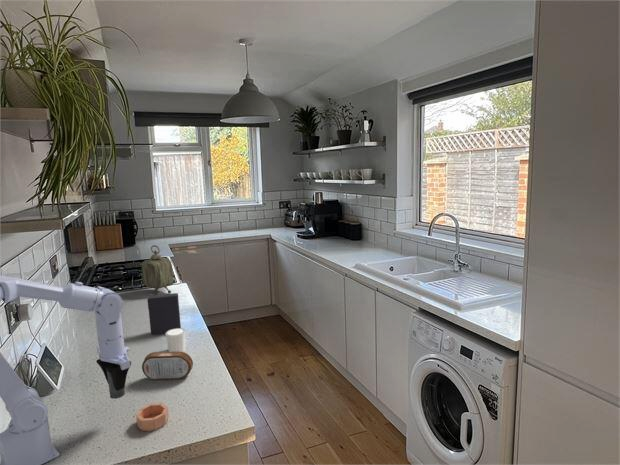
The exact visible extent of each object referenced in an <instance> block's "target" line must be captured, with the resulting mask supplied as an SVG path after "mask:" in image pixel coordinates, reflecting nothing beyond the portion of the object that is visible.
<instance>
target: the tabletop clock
mask: <svg viewBox="0 0 620 465" xmlns="http://www.w3.org/2000/svg"><path fill="white" fill-rule="evenodd" d="M153 247H155V248H157V250H158V251H157V250H153ZM150 249H151V252H152V253H153V254H152V255H151V256H150V259H145V260H144V261H142V262H141V265H140V266H141V277H142V281H143V282H142V283H143V285H145V287H149V288H152V289H154V291H153V295H158V293H157V292H158V290H159V289H162V288H164V289H165V290H166V291H167V294H172V291H171V289H169V288H168V287H169V286H172V285H174V271H173V269H174V268H173V264H172V260H170V259H169V258H166V257H162V256H161V255H160V254H159V253H160V252H161V251H160V250H161V249H160V247H158V245H155V244H154V245H152V246H151V247H150Z"/></svg>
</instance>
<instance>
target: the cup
mask: <svg viewBox="0 0 620 465" xmlns="http://www.w3.org/2000/svg"><path fill="white" fill-rule="evenodd" d="M136 413H137V414H136V415H135V417H136V419H135V420H136V425H137V427H138V428H139V430H141V431H143V432H153V431H156V430H159V429H161V428H162V427H164V426H165V425H167V422H168V421H169V416H170V415H169V414H170V413H169V407H168V406H167V405H165V404H164V403H163V402H161V403H160V402H158V403H157V402H156V403H149V404H147V405H146V406H143V407H142V408H139V410H138V412H136Z"/></svg>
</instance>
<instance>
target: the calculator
mask: <svg viewBox="0 0 620 465" xmlns="http://www.w3.org/2000/svg"><path fill="white" fill-rule="evenodd" d="M147 308H148V316H149V328H150V335H152V336H153V335H154V336H155V335H160V334H161V335H162V334H165V333H166V332H167V331H169V330H171V329H175V328H182V326H181V315H180V314H181V313H180V302H179V293H177V292H175V293H164V294H153V295H148V296H147Z"/></svg>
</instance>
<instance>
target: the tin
mask: <svg viewBox="0 0 620 465" xmlns="http://www.w3.org/2000/svg"><path fill="white" fill-rule="evenodd" d="M193 366H194V362H193V359H192V356H190V355H189V354H188V353H187V352H185V351H183V352H180V351H175V352H169V351H154V352H149V354H147V355H146V356H145V358H144V360H143V362H142V364H141V369H142V373H143V374H144V376H145V377H146V378H148V379H150V380H153V381H154V380H155V381H156V380H157V381H162V380H182V379H185V378H186V377H188V375H189V374H190V373H191V372H192V369H193Z"/></svg>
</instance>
